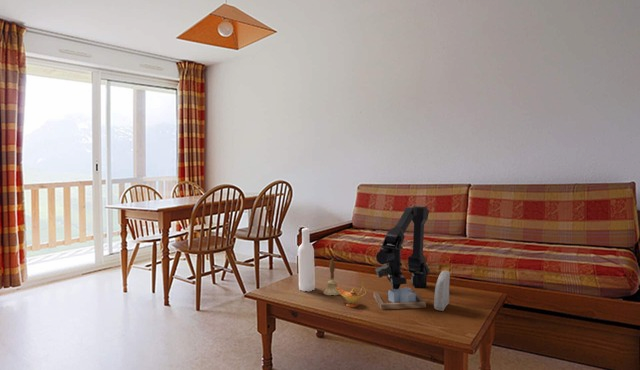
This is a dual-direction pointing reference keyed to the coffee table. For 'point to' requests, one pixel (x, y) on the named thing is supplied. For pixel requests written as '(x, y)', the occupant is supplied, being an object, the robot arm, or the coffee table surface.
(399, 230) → the robot arm
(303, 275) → the bottle
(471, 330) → the coffee table surface
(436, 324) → the coffee table surface
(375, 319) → the coffee table surface
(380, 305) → the bay
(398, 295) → the grey stepped block
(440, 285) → the decorative stone
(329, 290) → the hand bell
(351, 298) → the magic lamp
